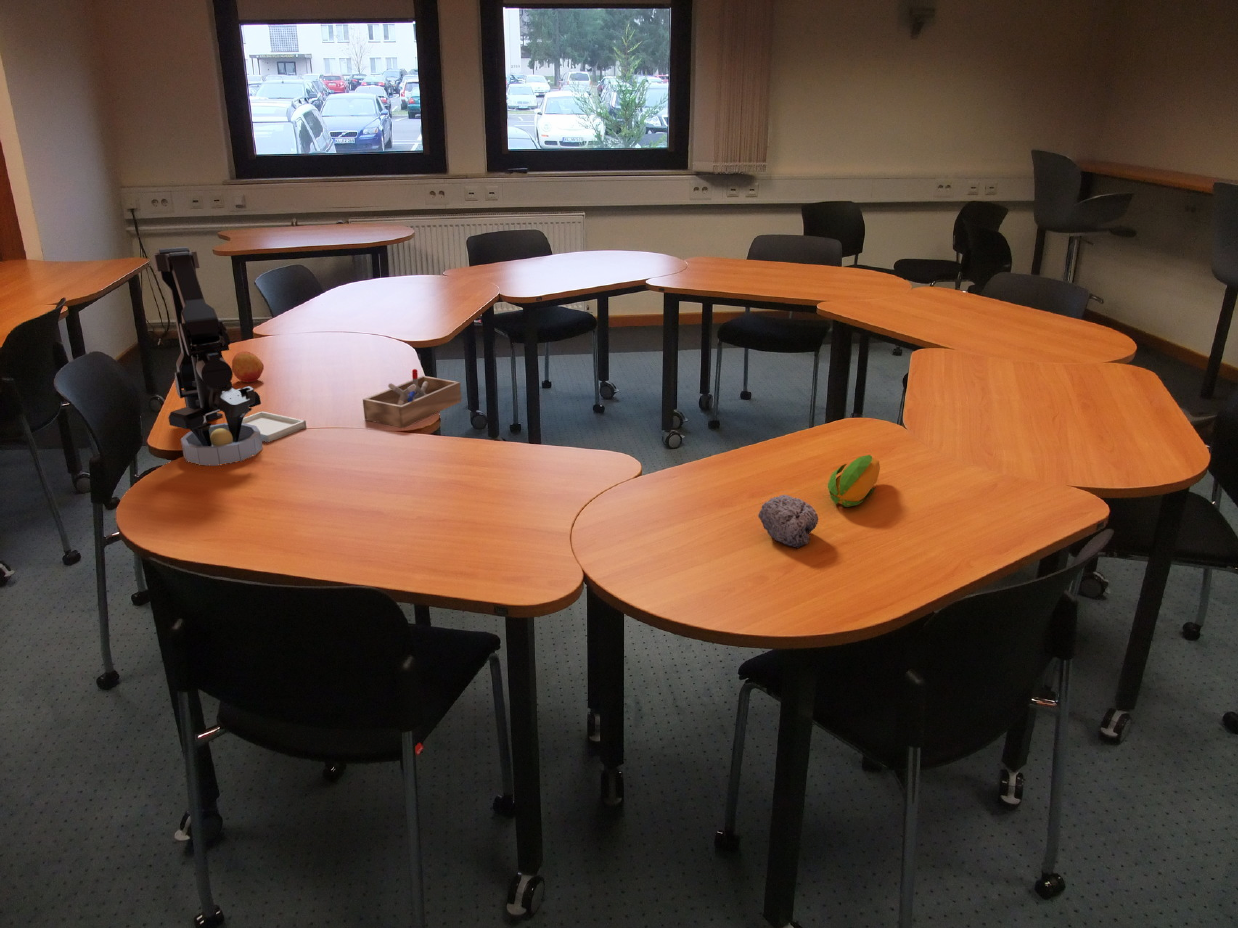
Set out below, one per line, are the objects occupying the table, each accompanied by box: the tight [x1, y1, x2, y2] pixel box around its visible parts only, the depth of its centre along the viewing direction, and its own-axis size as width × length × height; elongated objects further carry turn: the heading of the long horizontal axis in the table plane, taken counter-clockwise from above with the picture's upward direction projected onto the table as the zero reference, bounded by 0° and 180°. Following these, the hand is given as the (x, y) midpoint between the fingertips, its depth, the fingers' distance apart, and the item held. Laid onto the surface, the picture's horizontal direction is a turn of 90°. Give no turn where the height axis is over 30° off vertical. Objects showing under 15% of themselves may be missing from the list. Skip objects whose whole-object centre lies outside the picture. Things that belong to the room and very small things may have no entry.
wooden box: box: [362, 375, 462, 429], centre depth 216 cm, size 12×22×5 cm, turn 152°
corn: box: [827, 454, 881, 508], centre depth 171 cm, size 7×8×20 cm
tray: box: [242, 411, 307, 443], centre depth 204 cm, size 14×11×2 cm
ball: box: [210, 428, 233, 446], centre depth 191 cm, size 4×4×4 cm
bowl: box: [180, 422, 264, 466], centre depth 191 cm, size 15×15×4 cm
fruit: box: [231, 351, 265, 384], centre depth 237 cm, size 8×8×8 cm
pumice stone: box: [757, 494, 819, 549], centre depth 154 cm, size 10×8×10 cm
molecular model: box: [387, 368, 428, 405], centre depth 215 cm, size 18×8×10 cm, turn 174°
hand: (222, 446), depth 191 cm, fingers open, 6 cm apart
